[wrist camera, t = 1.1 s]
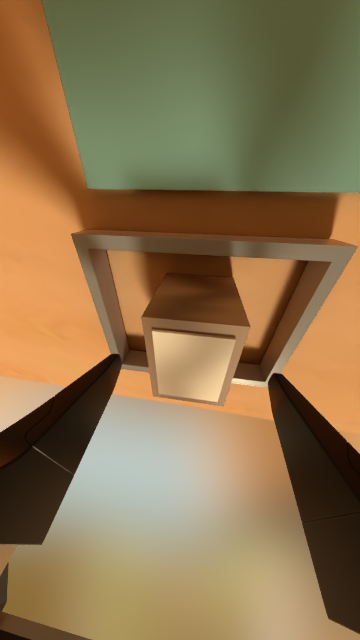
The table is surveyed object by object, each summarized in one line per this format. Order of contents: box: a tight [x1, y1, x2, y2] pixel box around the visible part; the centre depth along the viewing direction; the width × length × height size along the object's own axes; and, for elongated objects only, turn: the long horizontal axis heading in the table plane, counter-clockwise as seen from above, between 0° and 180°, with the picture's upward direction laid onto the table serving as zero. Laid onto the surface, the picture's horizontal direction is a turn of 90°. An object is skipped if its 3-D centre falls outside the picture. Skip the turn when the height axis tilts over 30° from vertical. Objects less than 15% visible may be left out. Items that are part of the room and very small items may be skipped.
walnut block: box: [141, 273, 250, 406], centre depth 12 cm, size 5×7×6 cm
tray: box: [71, 229, 358, 388], centre depth 13 cm, size 16×13×2 cm
